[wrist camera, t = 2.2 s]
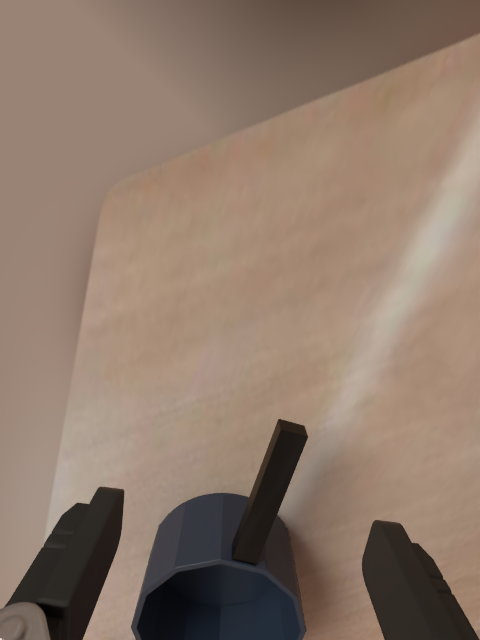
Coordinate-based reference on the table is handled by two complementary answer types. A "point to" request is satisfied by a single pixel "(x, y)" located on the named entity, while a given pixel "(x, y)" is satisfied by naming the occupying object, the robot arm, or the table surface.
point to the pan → (227, 561)
